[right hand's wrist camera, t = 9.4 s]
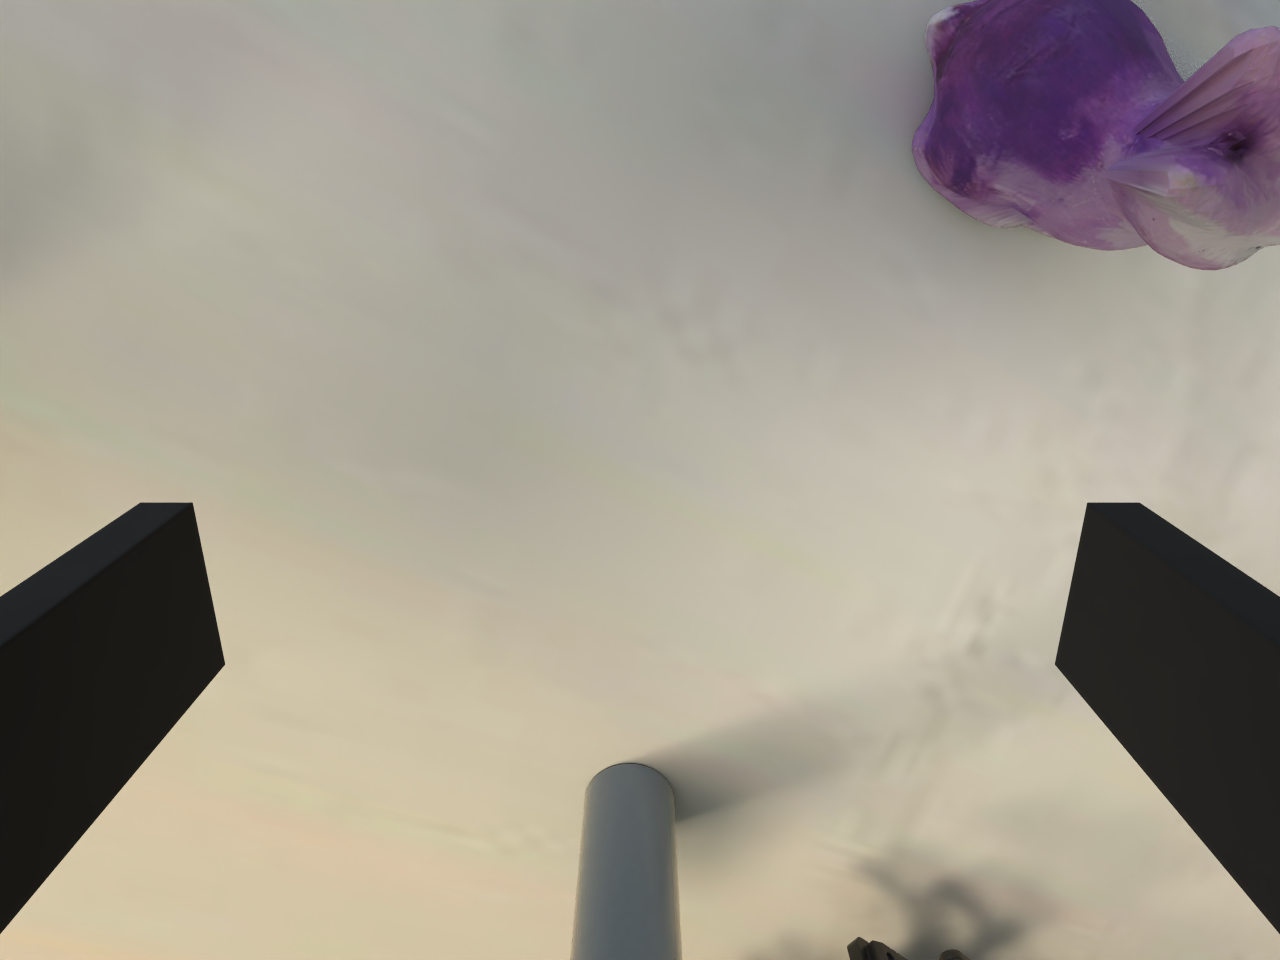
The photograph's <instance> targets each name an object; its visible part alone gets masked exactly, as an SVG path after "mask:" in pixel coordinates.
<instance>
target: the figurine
mask: <svg viewBox="0 0 1280 960" xmlns="http://www.w3.org/2000/svg"><path fill="white" fill-rule="evenodd" d="M925 46H926V48H927V51H928V54H929V57H930V61H931V65H932V69H933V73H934V100H933V103H932V105H931V107H930V110H929V112H928V114H927V116H926V118H925V119H924V121H923V122H922V124H921V125H920V126H919V127H918V129H917V130H916V132H915V133H914V137H913V141H912V152H913V156H914V160H915V163H916V166H917V168H918V171H919V172H920V174H921V175H922V176H923V178H924V179H925V180H926V181H927V182H928V183H929V184H930V185H931V187H932V188H933V189H934V190H936V191H937V192H938V193H940V194H941V195H942V196H943V197H945V198H946V199H947V200H949V201H950V202H951V203H952V204H954V205H955V206H956V207H957V208H959V209H960V210H961V211H963V212H964V213H966V214H968V215H970V216H971V217H973V218H975V219H977V220H979V221H981V222H983V223H985V224H987V225H992V226H998V227H1002V228H1010V227H1017V226H1020V225H1023V226H1024V227H1029V228H1031V229H1033V230H1035V231H1038V232H1040V233H1042V234H1044V235H1046V236H1050V237H1054V238H1056V239H1059V240H1061V241H1064V242H1066V243H1070V244H1073V245H1077V246H1082V247H1087V248H1092V249H1097V250H1108V251H1109V250H1124V249H1129V248H1135V247H1140V246H1145V245H1149V246H1150V247H1151V248H1152V249H1153V250H1154V251H1156V252H1157V253H1159V254H1161V255H1162V256H1164V257H1166V258H1168V259H1170V260H1173V261H1175V262H1177V263H1179V264H1182V265H1184V266H1187V267H1190V268H1195V269H1201V270H1219V269H1223V268H1228V267H1230V266H1233V265H1236V264H1238V263H1240V262H1242V261H1244V260H1246V259H1247V258H1249V257H1250V256H1251V255H1253V254H1254V253H1255V252H1257V251H1258V250H1260V249H1262V248H1264V247H1265V246H1274V245H1280V28H1278V27H1275V26H1272V27H1266V28H1260V29H1250V30H1248V31H1246V32H1244V33H1242V34H1240V35H1237V36H1235V37H1234V38H1233V39H1232V40H1231V41H1230V42H1229V43H1228V44H1227V45H1225V46H1224V47H1223V48H1222V49H1221V50H1220V51H1219V52H1218V53H1217V54H1215V55H1214V56H1213V57H1212V58H1211V59H1210V60H1209V61H1208V62H1206V63H1205V64H1204V65H1203V66H1202V67H1201V68H1200V69H1199V70H1198V71H1196V72H1195V73H1194V74H1193V75H1192V76H1191V77H1190V78H1189V79H1188V80H1186V81H1185V82H1184V81H1183V79H1182V78H1181V77H1180V75H1179V74H1178V72H1177V70H1176V68H1175V66H1174V64H1173V62H1172V60H1171V58H1170V56H1169V54H1168V51H1167V49H1166V46H1165V44H1164V42H1163V39H1162V37H1161V35H1160V34H1159V32H1158V31H1157V29H1156V28H1155V26H1154V25H1153V24H1152V22H1151V21H1150V20H1149V18H1148V17H1147V16H1146V14H1145V13H1144V12H1143V10H1141V9H1140V8H1139V7H1138V6H1137V5H1135V4H1134V3H1133V2H1132V1H1131V0H979V1H974V2H968V3H963V4H958V5H952V6H948V7H947V8H945V9H943V10H941V11H939V12H938V13H936V14H935V15H933V16H932V17H931V19H930V21H929V22H928V25H927V28H926V32H925Z"/></svg>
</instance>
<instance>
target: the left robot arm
mask: <svg viewBox="0 0 1280 960" xmlns="http://www.w3.org/2000/svg"><path fill="white" fill-rule="evenodd" d="M847 949H848V953H849V957H850V960H907V959H905V958H904V957H902V956H901V955H899V954H898V953H896V952H895V951H894V950H892V949H890V948H889V947H888V946H886V945H885V944H883V943H881V942H877V941H871V942H870V943H868V942H867V941H865V940H864V939H862V938H861V937H858V938H856V939H855V940H854V941H853V942H851V943H850V944H849V945H848V946H847ZM939 960H969V959H968V958H967V957H966V956H965V955H963V954H962V953H961V952H959V951H957V950H947V951H945V952H943V953H942V954H941V955H940V957H939Z"/></svg>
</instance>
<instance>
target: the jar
mask: <svg viewBox="0 0 1280 960" xmlns="http://www.w3.org/2000/svg"><path fill="white" fill-rule="evenodd" d="M570 960H682V944H681V924H680V905H679V885H678V866H677V846H676V827H675V807H674V794H673V791H672V788H671V786H670V784H669V783H668V781H667V780H666V779H665V778H664V777H663V776H662V775H661V774H660V773H658V772H657V771H655V770H653V769H651V768H649V767H646V766H643V765H638V764H620V765H615V766H612V767H609V768H607V769H605V770H603V771H602V772H600V773H599V774H598V775H596V776H595V777H594V778H593V780H592V781H591V782H590V784H589V785H588V787H587V790H586V793H585V801H584V812H583V823H582V834H581V845H580V856H579V867H578V878H577V890H576V901H575V912H574V923H573V934H572V945H571V956H570Z"/></svg>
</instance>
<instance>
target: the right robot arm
mask: <svg viewBox="0 0 1280 960" xmlns="http://www.w3.org/2000/svg"><path fill="white" fill-rule="evenodd" d="M224 665H225V661H224V656H223V651H222V646H221V642H220V637H219V632H218V627H217V622H216V617H215V612H214V607H213V602H212V597H211V592H210V587H209V582H208V577H207V572H206V567H205V562H204V557H203V552H202V547H201V542H200V537H199V532H198V527H197V522H196V517H195V512H194V507H193V503H139V504H138V505H136V506H135V507H133V508H132V509H130V510H129V511H127V512H126V513H124V514H123V515H121V516H120V517H118V518H117V519H115V520H114V521H112V522H111V523H110V524H108V525H107V526H105V527H104V528H102V529H101V530H99V531H98V532H96V533H95V534H93V535H92V536H90V537H89V538H87V539H86V540H84V541H83V542H81V543H80V544H78V545H77V546H75V547H74V548H72V549H71V550H69V551H68V552H66V553H65V554H63V555H62V556H60V557H59V558H57V559H56V560H54V561H53V562H51V563H50V564H49V565H47V566H46V567H44V568H43V569H41V570H40V571H38V572H37V573H35V574H34V575H32V576H31V577H29V578H28V579H26V580H25V581H23V582H22V583H20V584H19V585H17V586H16V587H14V588H13V589H11V590H10V591H8V592H7V593H5V594H4V595H2V596H1V597H0V934H1V932H2V931H3V930H4V929H5V928H6V926H7V925H8V924H9V923H10V922H11V920H12V919H13V918H14V917H15V916H16V914H17V913H18V912H19V911H20V910H21V908H22V907H23V906H24V905H25V904H26V902H27V901H28V900H29V899H30V898H31V897H32V895H33V894H34V893H35V892H36V891H37V889H38V888H39V887H40V886H41V885H42V883H43V882H44V881H45V880H46V879H47V877H48V876H49V875H50V874H51V873H52V871H53V870H54V869H55V868H56V867H57V865H58V864H59V863H60V862H61V861H62V859H63V858H64V857H65V856H66V855H67V853H68V852H69V851H70V850H71V849H72V847H73V846H74V845H75V844H76V843H77V841H78V840H79V839H80V838H81V837H82V835H83V834H84V833H85V832H86V831H87V829H88V828H89V827H90V826H91V825H92V823H93V822H94V821H95V820H96V819H97V817H98V816H99V815H100V814H101V813H102V811H103V810H104V809H105V808H106V807H107V805H108V804H109V803H110V802H111V801H112V799H113V798H114V797H115V796H116V795H117V793H118V792H119V791H120V790H121V789H122V787H123V786H124V785H125V784H126V783H127V781H128V780H129V779H130V778H131V777H132V775H133V774H134V773H135V772H136V771H137V769H138V768H139V767H140V766H141V765H142V763H143V762H144V761H145V760H146V759H147V757H148V756H149V755H150V754H151V753H152V751H153V750H154V749H155V748H156V747H157V745H158V744H159V743H160V742H161V741H162V739H163V738H164V737H165V736H166V735H167V733H168V732H169V731H170V730H171V729H172V727H173V726H174V725H175V724H176V723H177V721H178V720H179V719H180V718H181V717H182V715H183V714H184V713H185V712H186V711H187V709H188V708H189V707H190V706H191V705H192V703H193V702H194V701H195V700H196V699H197V697H198V696H199V695H200V694H201V693H202V691H203V690H204V689H205V688H206V687H207V685H208V684H209V683H210V682H211V681H212V679H213V678H214V677H215V676H216V675H217V673H218V672H219V671H220V670H221V669H222V667H223V666H224ZM1055 665H1056V666H1057V667H1058V669H1059V670H1060V671H1061V672H1062V673H1063V675H1064V676H1065V677H1066V678H1067V679H1068V681H1069V682H1070V683H1071V684H1072V685H1073V687H1074V688H1075V689H1076V690H1077V691H1078V693H1079V694H1080V695H1081V696H1082V697H1083V699H1084V700H1085V701H1086V702H1087V703H1088V705H1089V706H1090V707H1091V708H1092V709H1093V711H1094V712H1095V713H1096V714H1097V715H1098V717H1099V718H1100V719H1101V720H1102V721H1103V723H1104V724H1105V725H1106V726H1107V727H1108V729H1109V730H1110V731H1111V732H1112V733H1113V735H1114V736H1115V737H1116V738H1117V739H1118V741H1119V742H1120V743H1121V744H1122V745H1123V747H1124V748H1125V749H1126V750H1127V751H1128V753H1129V754H1130V755H1131V756H1132V757H1133V759H1134V760H1135V761H1136V762H1137V763H1138V765H1139V766H1140V767H1141V768H1142V769H1143V771H1144V772H1145V773H1146V774H1147V775H1148V777H1149V778H1150V779H1151V780H1152V781H1153V783H1154V784H1155V785H1156V786H1157V787H1158V789H1159V790H1160V791H1161V792H1162V793H1163V795H1164V796H1165V797H1166V798H1167V799H1168V801H1169V802H1170V803H1171V804H1172V805H1173V807H1174V808H1175V809H1176V810H1177V811H1178V813H1179V814H1180V815H1181V816H1182V817H1183V819H1184V820H1185V821H1186V822H1187V823H1188V825H1189V826H1190V827H1191V828H1192V829H1193V831H1194V832H1195V833H1196V834H1197V835H1198V837H1199V838H1200V839H1201V840H1202V841H1203V843H1204V844H1205V845H1206V846H1207V847H1208V849H1209V850H1210V851H1211V852H1212V853H1213V855H1214V856H1215V857H1216V858H1217V859H1218V861H1219V862H1220V863H1221V864H1222V865H1223V867H1224V868H1225V869H1226V870H1227V871H1228V873H1229V874H1230V875H1231V876H1232V877H1233V879H1234V880H1235V881H1236V882H1237V883H1238V885H1239V886H1240V887H1241V888H1242V889H1243V891H1244V892H1245V893H1246V894H1247V895H1248V897H1249V898H1250V899H1251V900H1252V901H1253V903H1254V904H1255V905H1256V906H1257V907H1258V908H1259V910H1260V911H1261V912H1262V913H1263V914H1264V916H1265V917H1266V918H1267V919H1268V920H1269V922H1270V923H1271V924H1272V925H1273V926H1274V928H1275V929H1276V930H1277V931H1278V932H1279V934H1280V597H1279V596H1278V595H1276V594H1275V593H1273V592H1272V591H1270V590H1269V589H1267V588H1266V587H1264V586H1263V585H1261V584H1260V583H1258V582H1257V581H1255V580H1254V579H1252V578H1251V577H1249V576H1248V575H1246V574H1245V573H1243V572H1242V571H1240V570H1239V569H1237V568H1236V567H1234V566H1233V565H1231V564H1230V563H1229V562H1227V561H1226V560H1224V559H1223V558H1221V557H1220V556H1218V555H1217V554H1215V553H1214V552H1212V551H1211V550H1209V549H1208V548H1206V547H1205V546H1203V545H1202V544H1200V543H1199V542H1197V541H1196V540H1194V539H1193V538H1191V537H1190V536H1188V535H1187V534H1185V533H1184V532H1182V531H1181V530H1179V529H1178V528H1176V527H1175V526H1173V525H1172V524H1170V523H1169V522H1168V521H1166V520H1165V519H1163V518H1162V517H1160V516H1159V515H1157V514H1156V513H1154V512H1153V511H1151V510H1150V509H1148V508H1147V507H1145V506H1144V505H1142V504H1141V503H1087V507H1086V512H1085V517H1084V522H1083V527H1082V532H1081V537H1080V542H1079V547H1078V552H1077V557H1076V562H1075V567H1074V572H1073V577H1072V582H1071V587H1070V592H1069V597H1068V602H1067V607H1066V612H1065V617H1064V622H1063V627H1062V632H1061V637H1060V641H1059V646H1058V651H1057V656H1056V661H1055Z"/></svg>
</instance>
